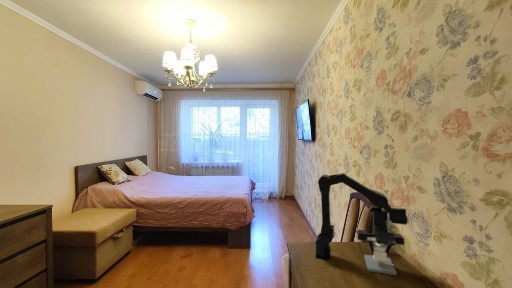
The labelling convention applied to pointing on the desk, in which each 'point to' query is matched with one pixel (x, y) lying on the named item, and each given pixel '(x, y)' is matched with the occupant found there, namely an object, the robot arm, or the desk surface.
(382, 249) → the knob
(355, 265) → the desk surface
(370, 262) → the panel
